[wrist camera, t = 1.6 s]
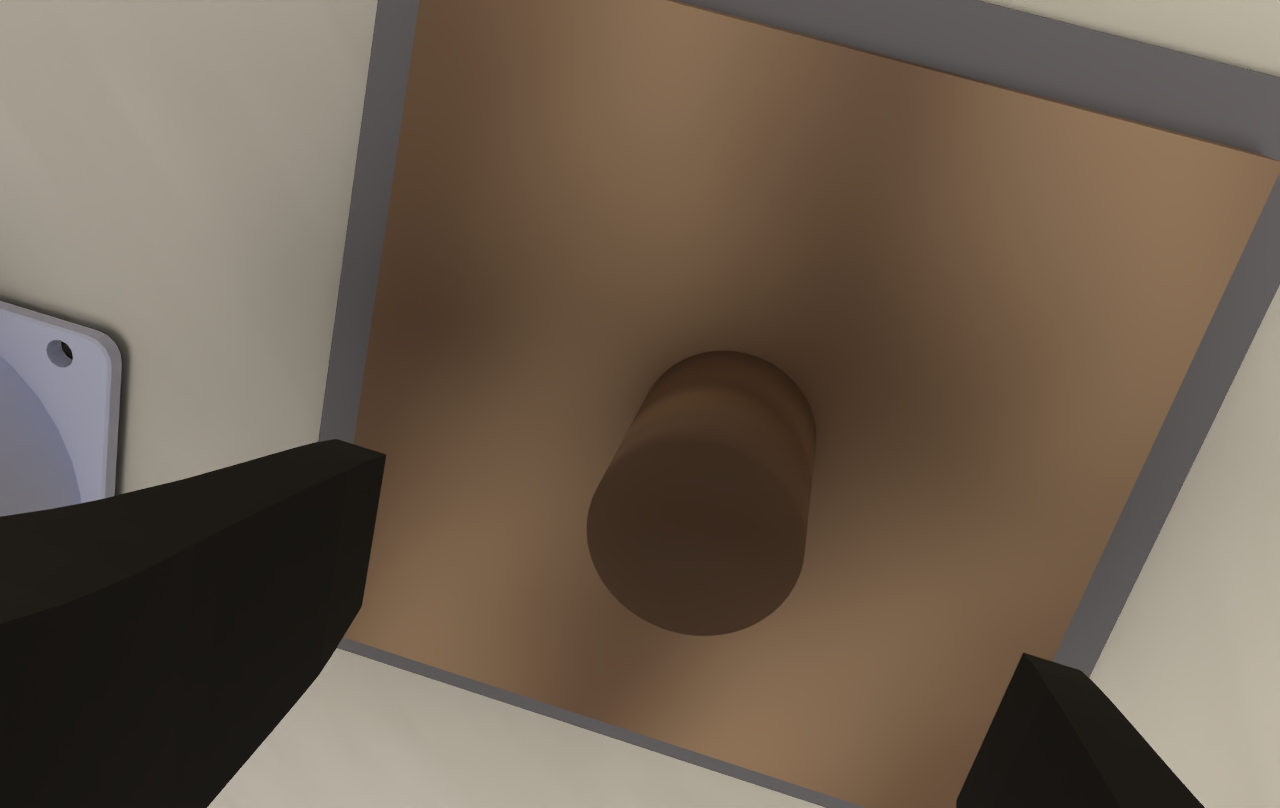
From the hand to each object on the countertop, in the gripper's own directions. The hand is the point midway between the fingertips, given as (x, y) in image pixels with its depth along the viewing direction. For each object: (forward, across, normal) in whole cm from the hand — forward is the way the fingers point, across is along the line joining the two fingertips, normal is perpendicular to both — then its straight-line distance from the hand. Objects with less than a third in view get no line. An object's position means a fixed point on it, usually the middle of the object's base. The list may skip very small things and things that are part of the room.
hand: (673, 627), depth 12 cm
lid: (+7, 0, 0) cm, 7 cm away
